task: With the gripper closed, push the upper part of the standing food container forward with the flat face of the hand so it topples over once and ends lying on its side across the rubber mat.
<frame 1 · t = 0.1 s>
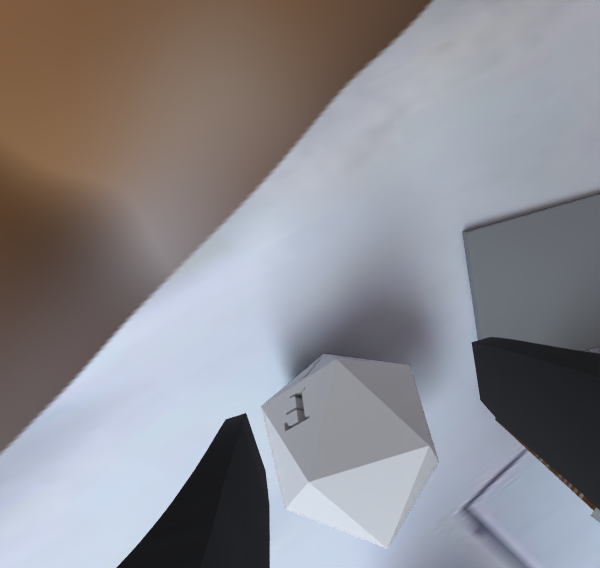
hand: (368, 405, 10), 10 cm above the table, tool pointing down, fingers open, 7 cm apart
food container: (565, 396, 24), on the table
mat: (559, 283, 22), on the table
die: (332, 394, 21), on the table
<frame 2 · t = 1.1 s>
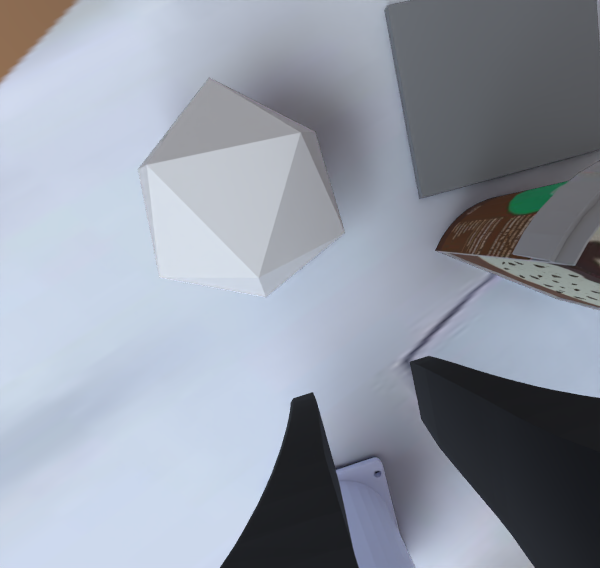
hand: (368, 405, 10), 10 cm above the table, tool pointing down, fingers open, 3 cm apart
food container: (516, 229, 21), on the table
mat: (500, 84, 19), on the table
die: (243, 205, 19), on the table
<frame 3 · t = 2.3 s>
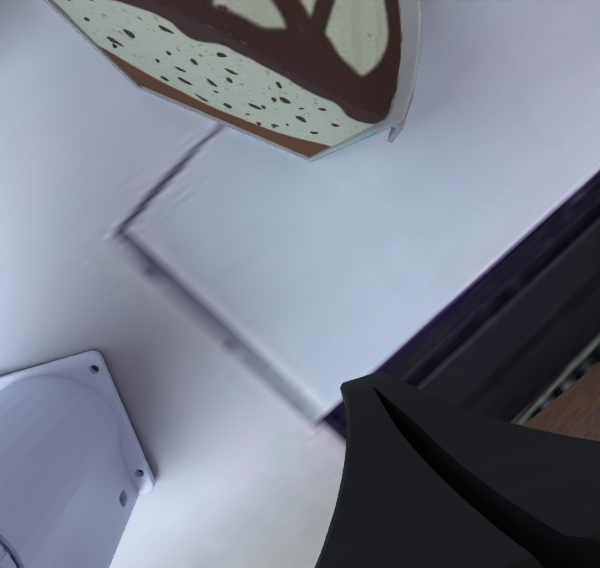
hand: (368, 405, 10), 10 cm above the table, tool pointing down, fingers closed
food container: (247, 69, 17), on the table
tissue box cover: (533, 506, 26), on the table
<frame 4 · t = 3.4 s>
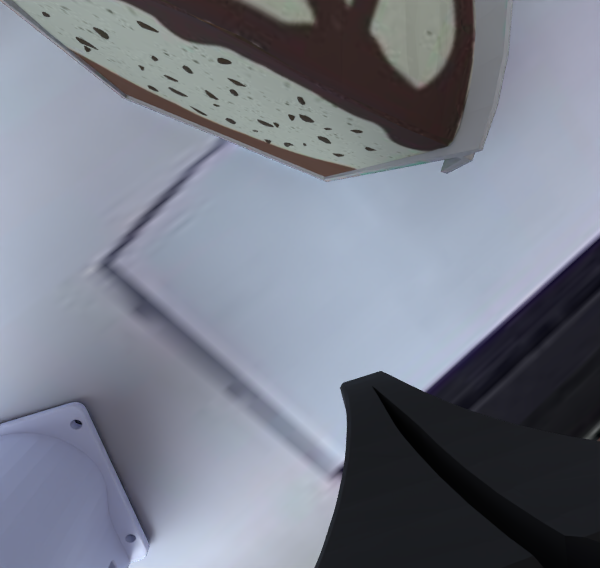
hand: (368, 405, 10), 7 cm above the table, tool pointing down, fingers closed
food container: (253, 74, 15), on the table
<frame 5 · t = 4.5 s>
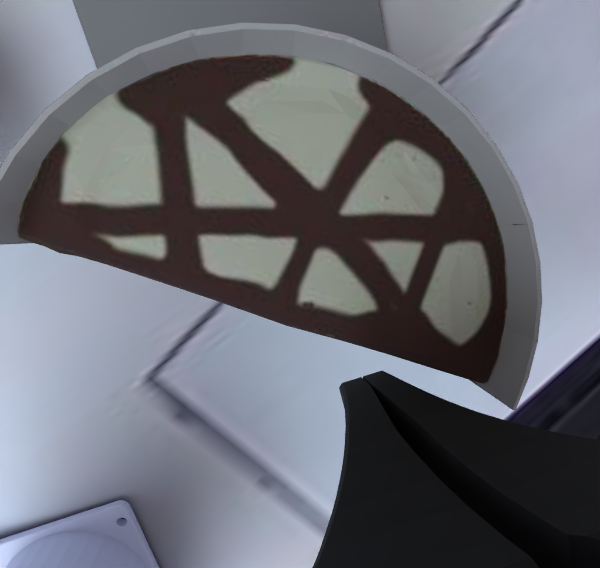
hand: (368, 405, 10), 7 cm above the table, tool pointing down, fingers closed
food container: (287, 207, 16), on the table, touching gripper
mat: (233, 4, 14), on the table
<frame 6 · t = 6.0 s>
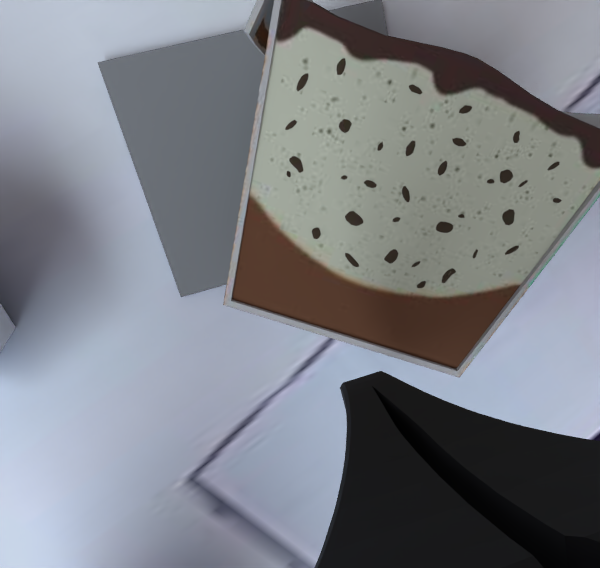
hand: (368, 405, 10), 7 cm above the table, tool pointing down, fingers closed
food container: (336, 310, 15), point 2 cm above the table, touching mat
mat: (276, 156, 15), on the table
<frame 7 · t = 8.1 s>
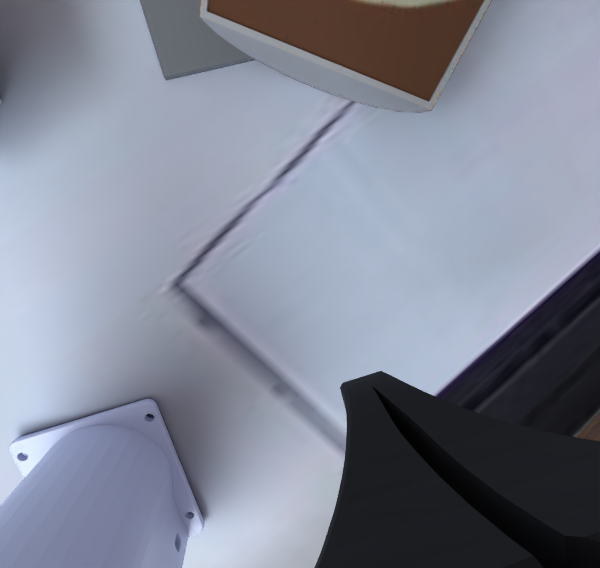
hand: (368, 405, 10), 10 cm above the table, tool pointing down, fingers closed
food container: (315, 85, 16), point 2 cm above the table, touching mat
tissue box cover: (566, 537, 27), on the table
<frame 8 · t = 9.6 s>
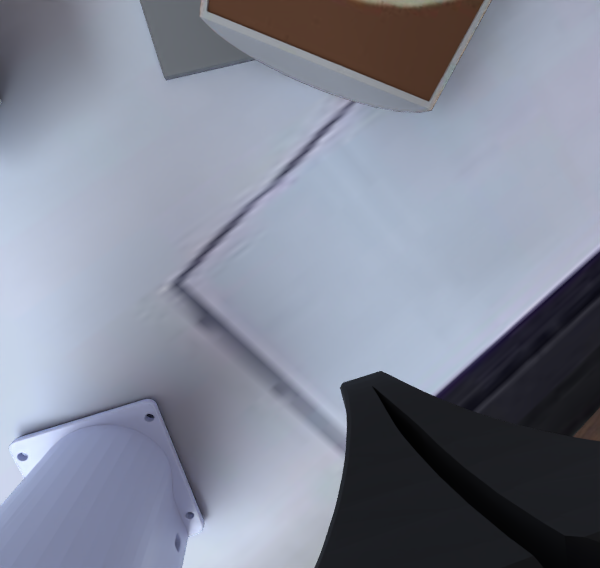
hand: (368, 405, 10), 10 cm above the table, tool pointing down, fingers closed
food container: (315, 85, 16), point 2 cm above the table, touching mat
tissue box cover: (566, 537, 27), on the table
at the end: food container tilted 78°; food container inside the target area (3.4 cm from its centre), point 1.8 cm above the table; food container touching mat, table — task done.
